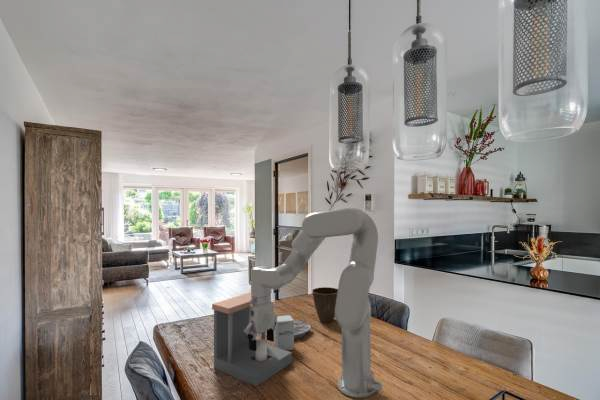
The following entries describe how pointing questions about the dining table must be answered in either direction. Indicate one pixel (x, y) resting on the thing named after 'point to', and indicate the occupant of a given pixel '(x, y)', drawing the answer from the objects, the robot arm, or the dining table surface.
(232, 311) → the socket station
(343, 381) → the robot arm
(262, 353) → the peg
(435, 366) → the dining table surface
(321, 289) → the plant pot
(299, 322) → the brain slice
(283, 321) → the supplement box
